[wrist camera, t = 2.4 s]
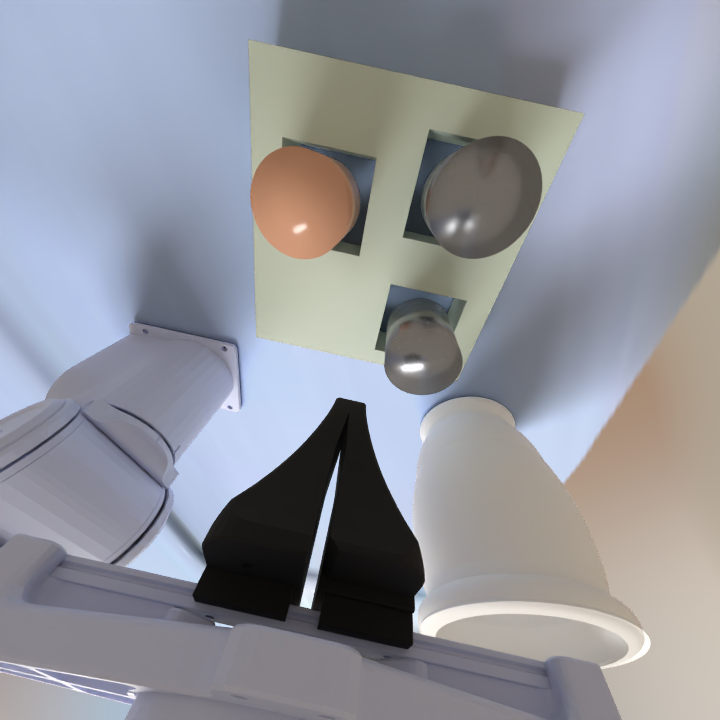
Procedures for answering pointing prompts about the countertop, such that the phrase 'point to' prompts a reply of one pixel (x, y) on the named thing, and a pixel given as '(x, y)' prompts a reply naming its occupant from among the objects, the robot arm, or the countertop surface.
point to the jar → (509, 546)
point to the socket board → (380, 195)
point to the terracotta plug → (304, 201)
